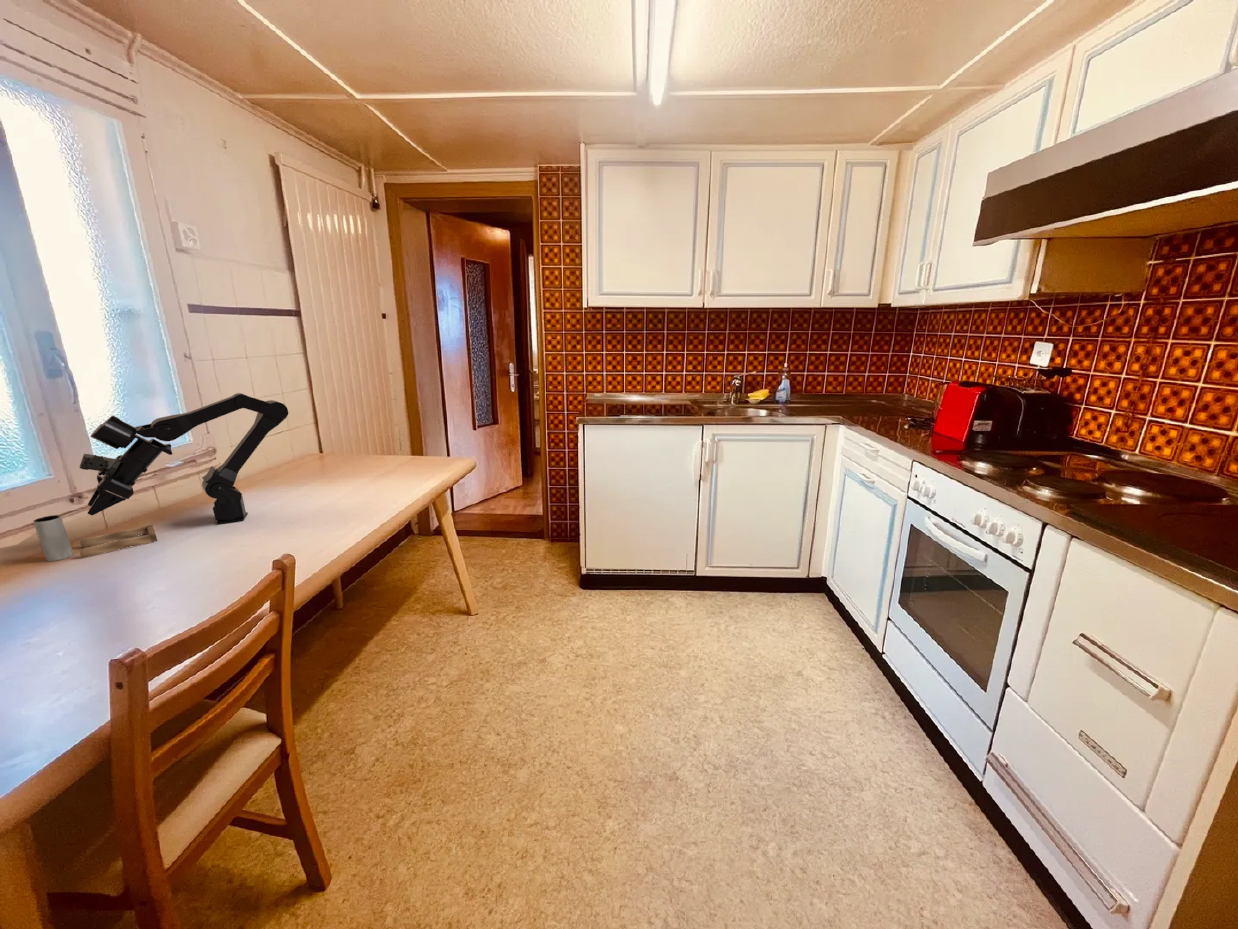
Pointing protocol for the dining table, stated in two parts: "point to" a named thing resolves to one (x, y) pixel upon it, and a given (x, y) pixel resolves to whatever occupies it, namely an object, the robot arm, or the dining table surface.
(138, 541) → the tan u-shaped frame
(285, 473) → the dining table surface
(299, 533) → the dining table surface
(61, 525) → the planter
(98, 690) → the dining table surface
